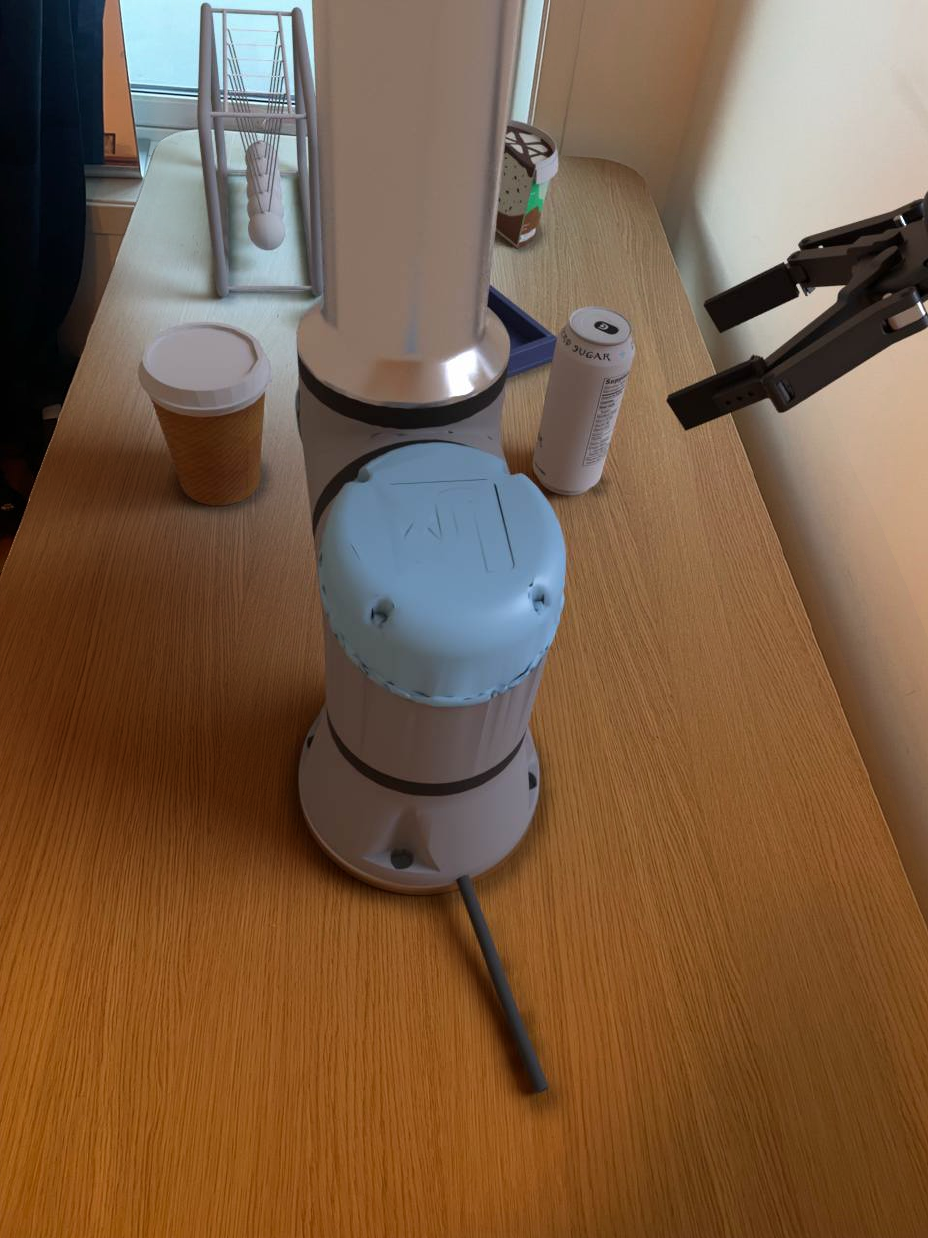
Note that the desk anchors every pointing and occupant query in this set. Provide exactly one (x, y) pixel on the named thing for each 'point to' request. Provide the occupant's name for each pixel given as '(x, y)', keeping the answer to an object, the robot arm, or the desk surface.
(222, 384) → the disposable coffee cup
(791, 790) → the desk surface
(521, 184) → the food container
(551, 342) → the navy tray
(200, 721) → the desk surface
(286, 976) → the desk surface
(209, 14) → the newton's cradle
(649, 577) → the desk surface
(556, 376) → the energy drink can
